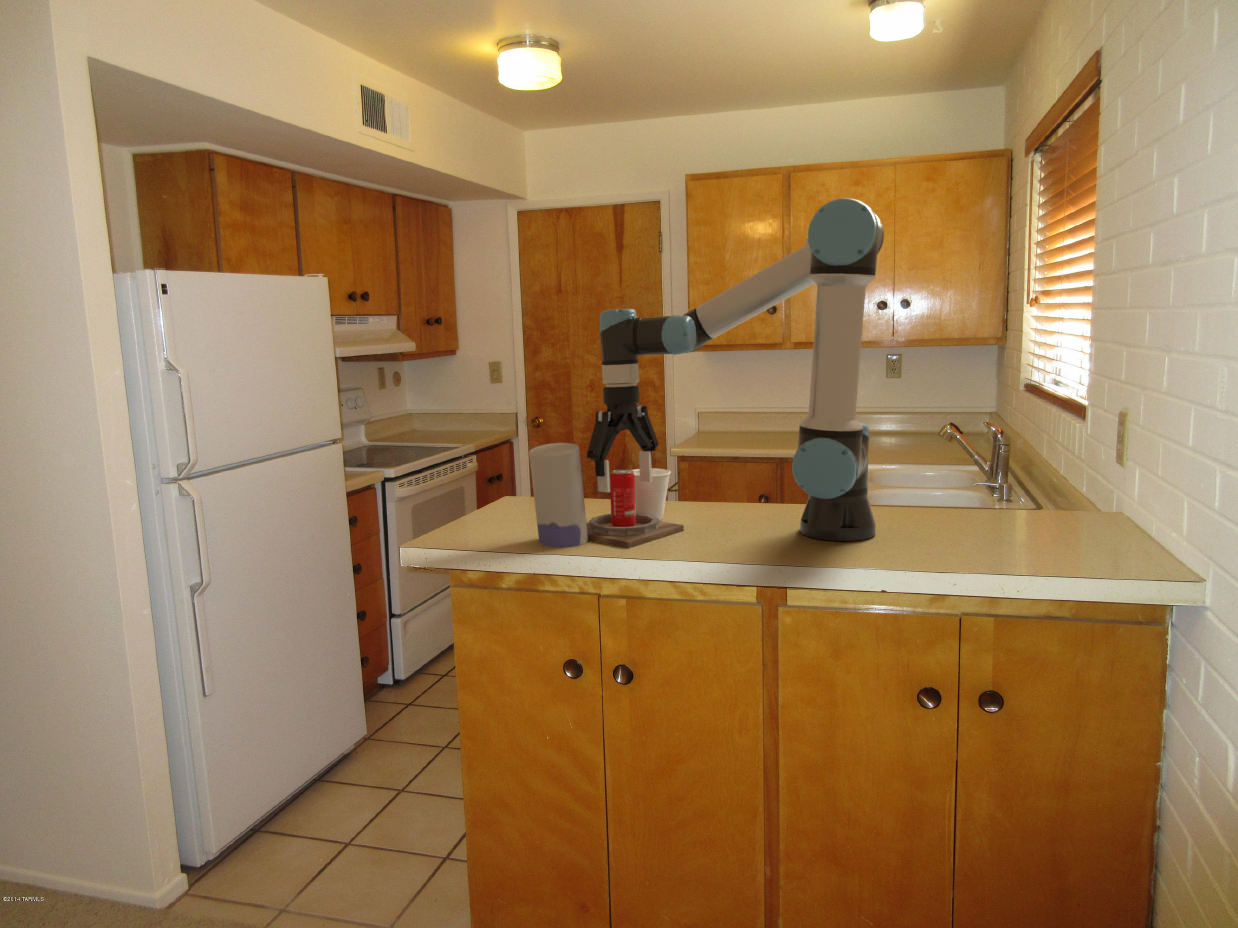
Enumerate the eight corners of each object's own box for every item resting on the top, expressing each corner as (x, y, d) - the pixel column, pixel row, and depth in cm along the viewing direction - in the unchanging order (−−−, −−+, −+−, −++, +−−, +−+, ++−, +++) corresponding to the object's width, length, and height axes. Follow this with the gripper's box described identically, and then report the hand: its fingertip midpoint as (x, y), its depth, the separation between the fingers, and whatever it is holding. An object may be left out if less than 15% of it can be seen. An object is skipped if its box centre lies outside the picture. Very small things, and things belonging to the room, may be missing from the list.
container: (593, 533, 178) (584, 441, 173) (580, 551, 169) (570, 455, 164) (548, 533, 181) (538, 442, 175) (532, 551, 172) (521, 455, 166)
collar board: (683, 530, 181) (683, 518, 181) (628, 548, 168) (628, 534, 168) (619, 519, 193) (619, 507, 193) (563, 535, 180) (563, 522, 179)
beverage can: (615, 531, 177) (613, 474, 175) (608, 525, 182) (607, 470, 180) (638, 528, 179) (637, 472, 177) (631, 523, 183) (630, 468, 182)
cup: (672, 524, 187) (671, 475, 186) (627, 525, 187) (626, 476, 186) (670, 514, 197) (669, 467, 195) (627, 515, 197) (626, 468, 196)
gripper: (644, 380, 187) (649, 476, 190) (565, 389, 169) (571, 494, 172) (672, 380, 182) (675, 478, 186) (593, 389, 164) (599, 498, 167)
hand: (625, 486), depth 179 cm, fingers open, 13 cm apart
